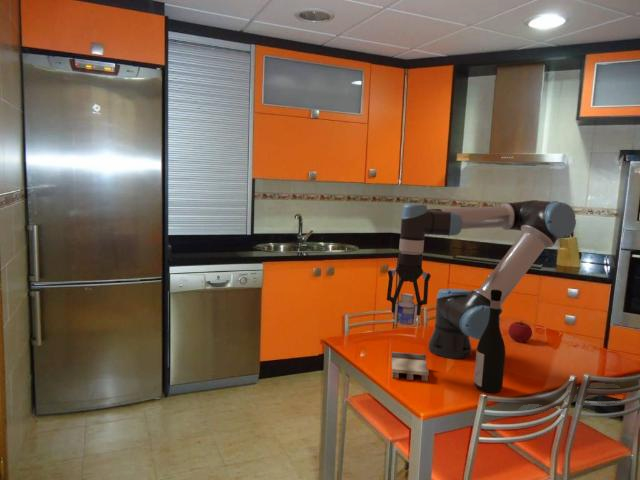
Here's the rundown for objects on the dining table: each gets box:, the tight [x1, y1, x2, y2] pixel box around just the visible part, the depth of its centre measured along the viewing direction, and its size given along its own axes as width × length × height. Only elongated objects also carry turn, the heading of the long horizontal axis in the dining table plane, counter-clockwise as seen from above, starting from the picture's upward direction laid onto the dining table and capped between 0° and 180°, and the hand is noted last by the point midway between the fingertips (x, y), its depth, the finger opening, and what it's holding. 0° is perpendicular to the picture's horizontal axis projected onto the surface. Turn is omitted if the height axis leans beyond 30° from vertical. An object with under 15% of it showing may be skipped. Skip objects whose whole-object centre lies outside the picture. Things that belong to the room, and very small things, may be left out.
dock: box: [391, 351, 430, 382], centre depth 148 cm, size 11×11×4 cm
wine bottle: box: [473, 290, 506, 394], centre depth 138 cm, size 8×8×30 cm
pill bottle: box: [396, 293, 416, 327], centre depth 150 cm, size 5×5×10 cm
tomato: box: [507, 320, 533, 342], centre depth 186 cm, size 9×9×8 cm
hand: (404, 323), depth 150 cm, fingers closed on pill bottle, 5 cm apart
